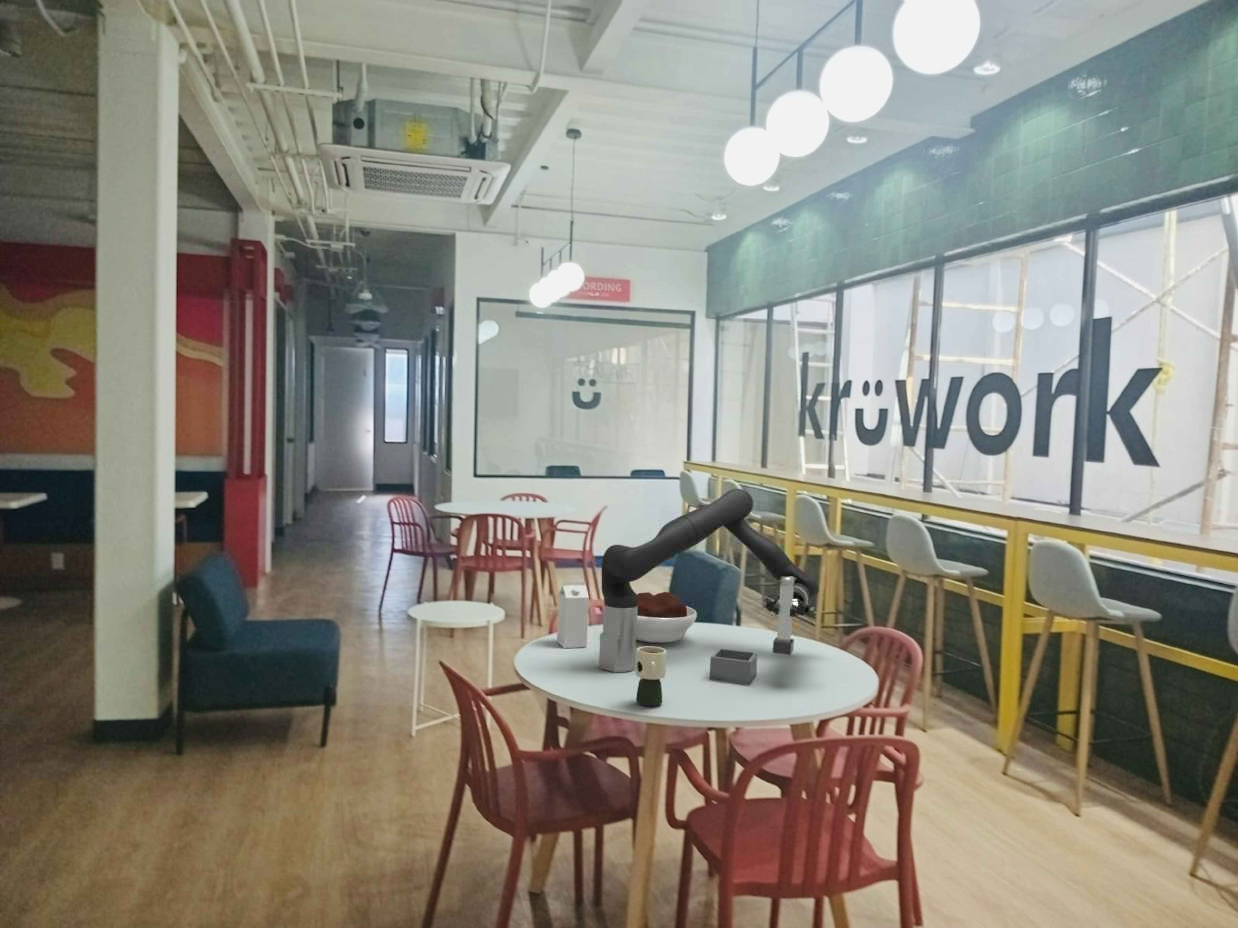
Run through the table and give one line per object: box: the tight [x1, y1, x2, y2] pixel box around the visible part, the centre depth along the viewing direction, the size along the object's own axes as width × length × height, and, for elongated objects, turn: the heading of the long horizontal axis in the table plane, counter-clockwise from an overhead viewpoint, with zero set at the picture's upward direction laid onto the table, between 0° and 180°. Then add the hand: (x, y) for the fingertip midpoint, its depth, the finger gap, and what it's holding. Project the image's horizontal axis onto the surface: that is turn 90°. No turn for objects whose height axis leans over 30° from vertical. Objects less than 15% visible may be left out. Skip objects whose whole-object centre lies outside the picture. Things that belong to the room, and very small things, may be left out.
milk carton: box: [556, 581, 590, 649], centre depth 257 cm, size 7×7×19 cm
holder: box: [709, 647, 758, 686], centre depth 231 cm, size 11×11×6 cm
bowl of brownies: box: [636, 591, 698, 644], centre depth 268 cm, size 25×25×15 cm
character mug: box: [635, 645, 667, 707], centre depth 205 cm, size 11×7×13 cm, turn 3°
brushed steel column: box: [772, 576, 795, 656], centre depth 225 cm, size 5×5×20 cm
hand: (784, 611), depth 222 cm, fingers closed on brushed steel column, 3 cm apart
